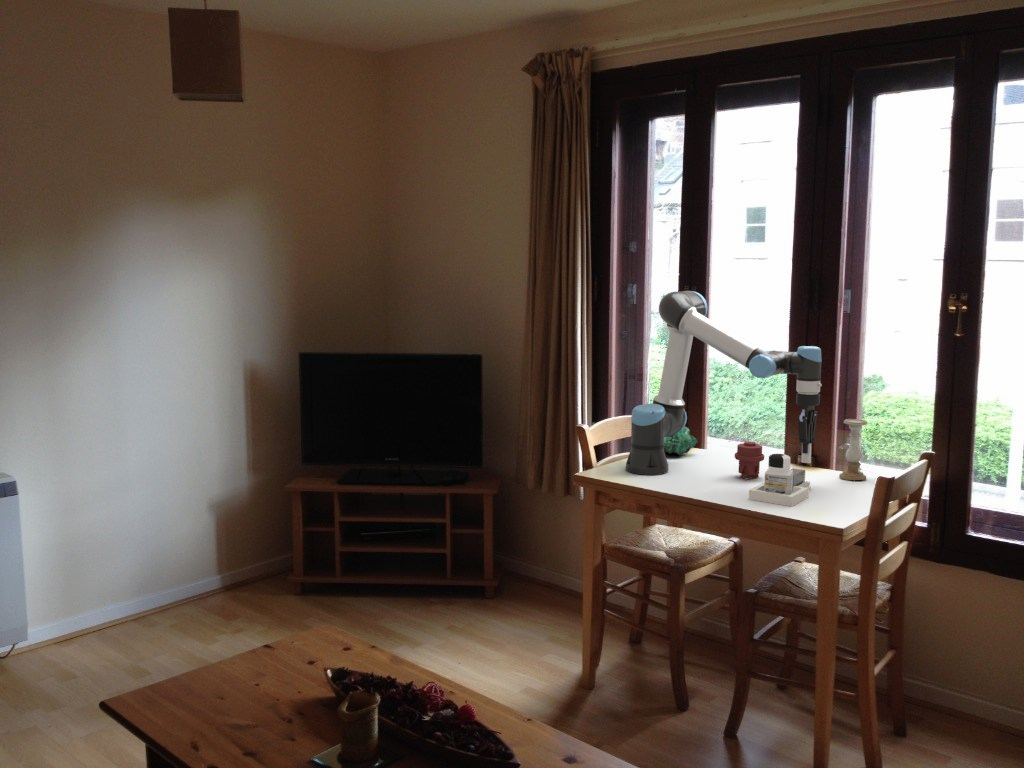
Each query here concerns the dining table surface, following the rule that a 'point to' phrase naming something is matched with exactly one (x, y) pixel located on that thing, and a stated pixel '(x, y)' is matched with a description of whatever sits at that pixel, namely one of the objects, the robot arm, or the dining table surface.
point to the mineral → (679, 442)
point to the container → (779, 475)
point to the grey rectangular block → (798, 477)
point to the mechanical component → (749, 459)
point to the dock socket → (780, 495)
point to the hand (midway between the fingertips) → (806, 462)
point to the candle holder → (853, 451)
